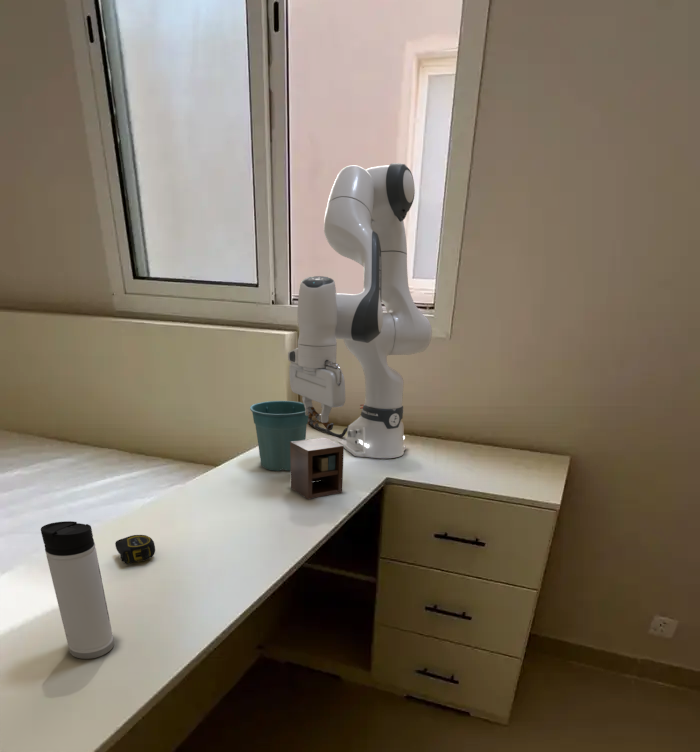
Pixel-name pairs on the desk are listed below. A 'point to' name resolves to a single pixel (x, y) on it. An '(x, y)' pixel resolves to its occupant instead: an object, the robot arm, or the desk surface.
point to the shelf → (316, 467)
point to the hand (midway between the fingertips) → (316, 419)
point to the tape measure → (135, 548)
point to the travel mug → (78, 588)
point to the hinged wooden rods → (312, 412)
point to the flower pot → (278, 431)
